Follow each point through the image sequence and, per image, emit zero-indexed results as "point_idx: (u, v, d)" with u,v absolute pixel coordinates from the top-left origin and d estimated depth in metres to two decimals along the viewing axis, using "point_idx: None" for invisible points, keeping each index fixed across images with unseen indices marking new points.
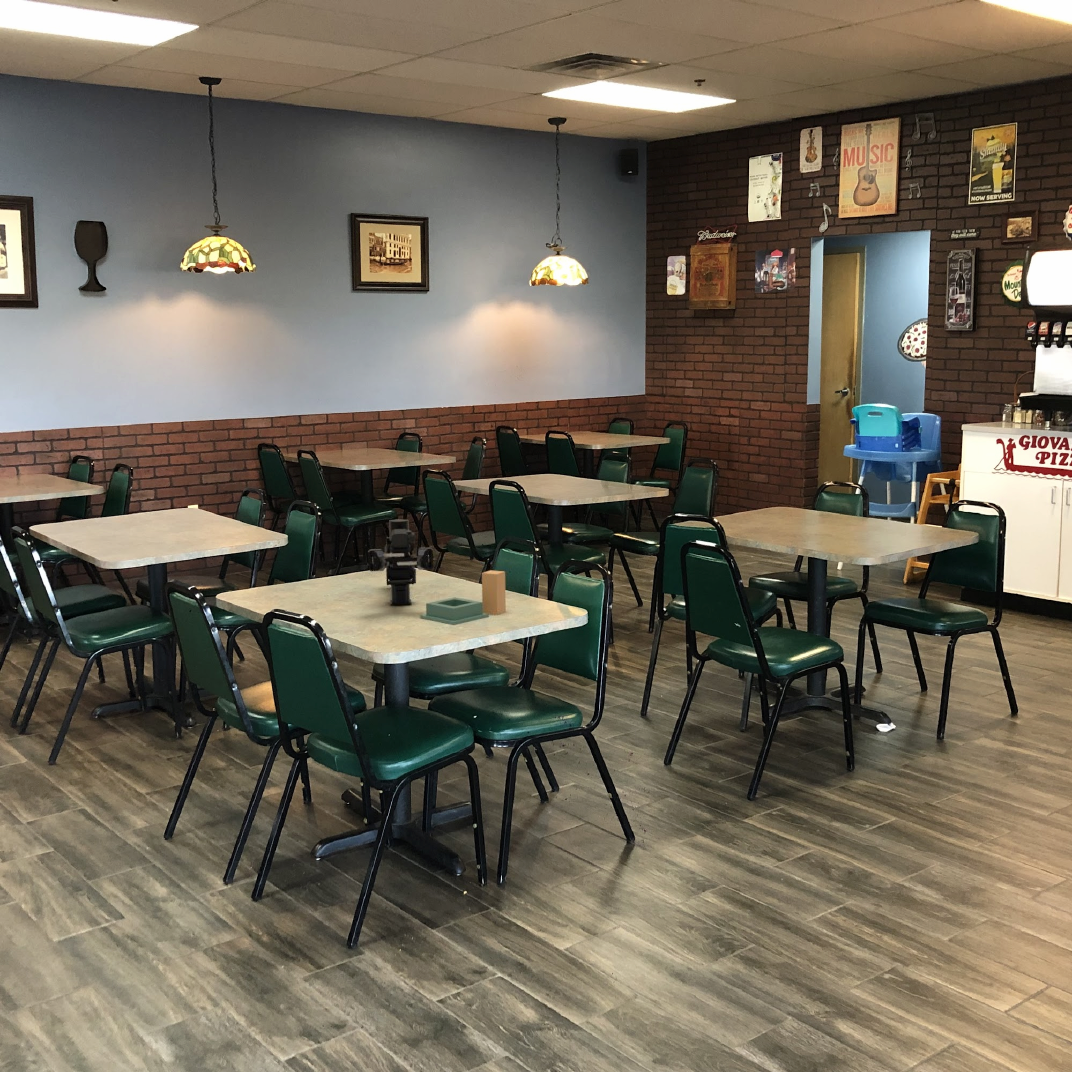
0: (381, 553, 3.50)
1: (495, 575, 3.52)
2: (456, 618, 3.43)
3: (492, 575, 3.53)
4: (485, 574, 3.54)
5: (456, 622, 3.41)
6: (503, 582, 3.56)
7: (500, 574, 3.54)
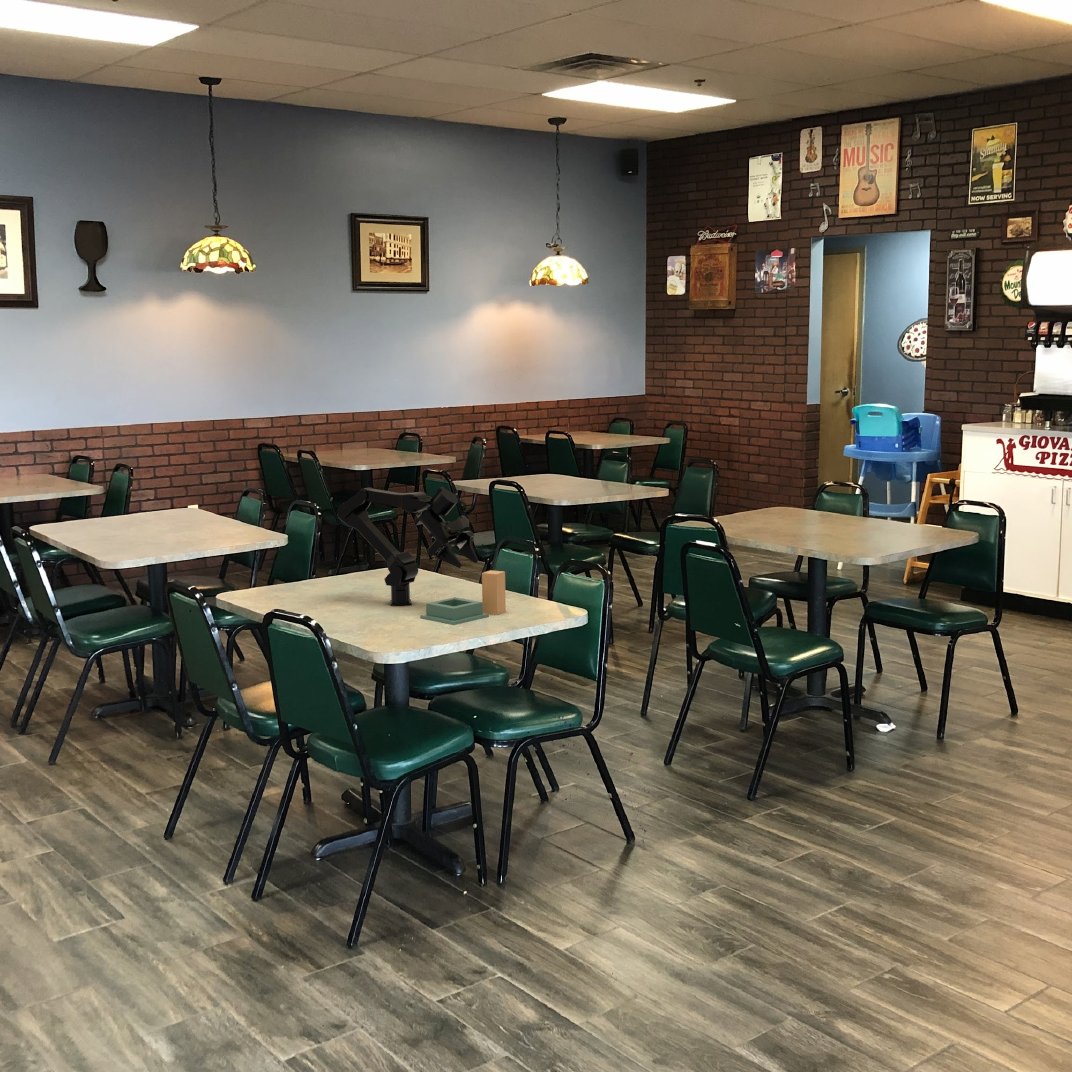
0: (450, 547, 3.54)
1: (495, 575, 3.52)
2: (456, 618, 3.43)
3: (492, 575, 3.53)
4: (485, 574, 3.54)
5: (456, 622, 3.41)
6: (503, 582, 3.56)
7: (500, 574, 3.54)
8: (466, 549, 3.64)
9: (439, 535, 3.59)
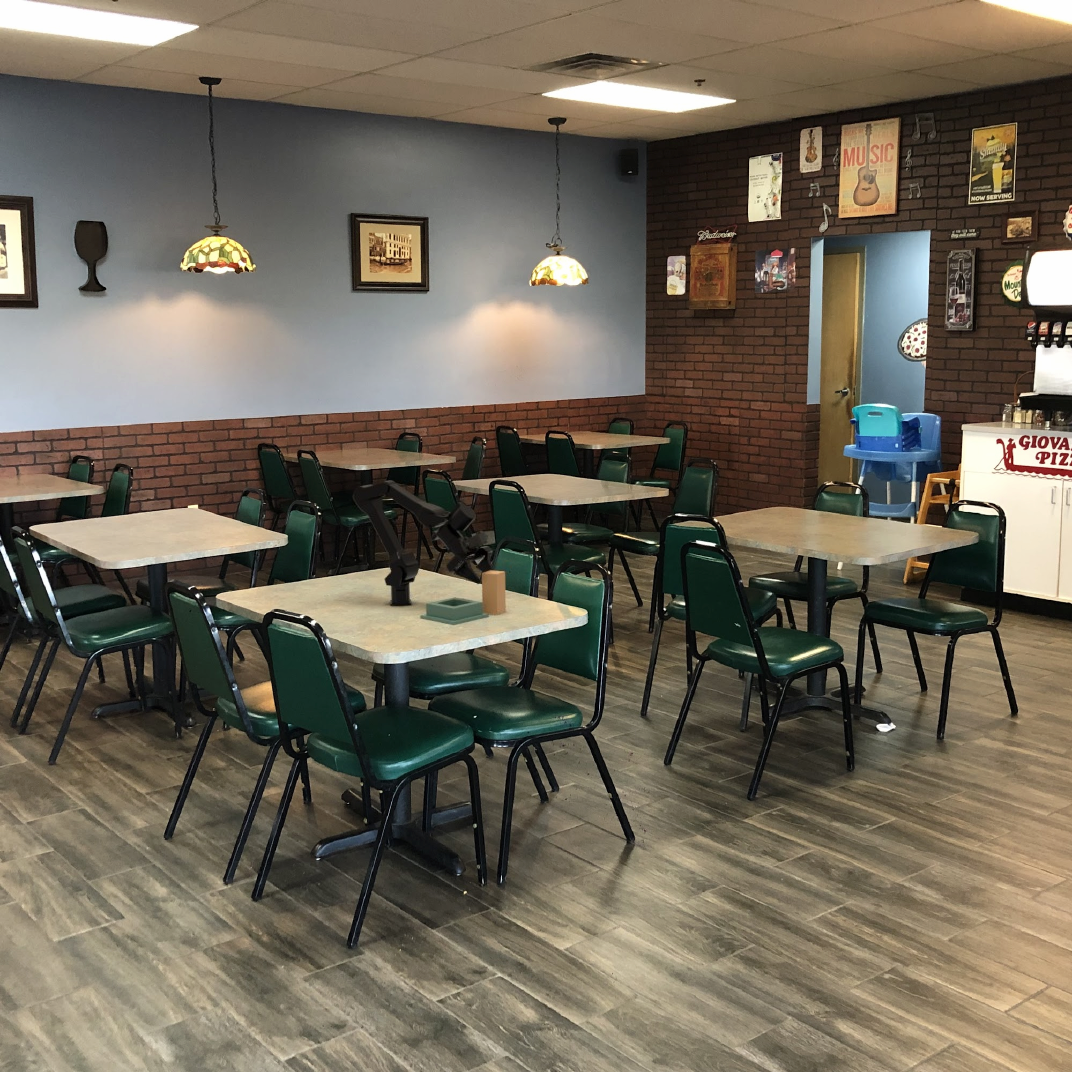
0: (469, 562, 3.52)
1: (495, 575, 3.52)
2: (456, 618, 3.43)
3: (492, 575, 3.53)
4: (485, 574, 3.54)
5: (456, 622, 3.41)
6: (503, 582, 3.56)
7: (500, 574, 3.54)
8: (484, 564, 3.62)
9: (458, 551, 3.57)
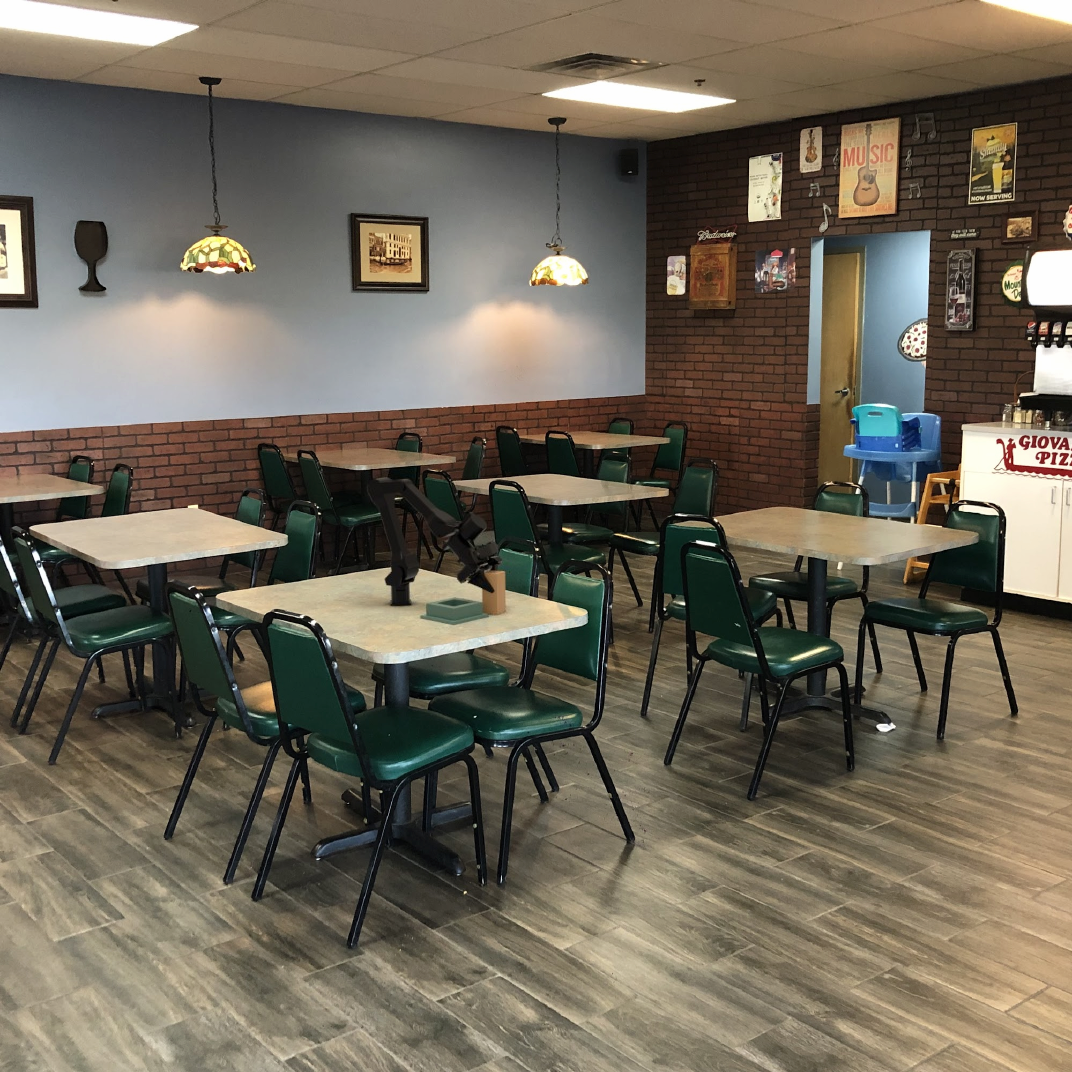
0: (483, 572, 3.53)
1: (495, 575, 3.52)
2: (456, 618, 3.43)
3: (492, 575, 3.53)
4: (485, 574, 3.54)
5: (456, 622, 3.41)
6: (503, 582, 3.56)
7: (500, 574, 3.54)
8: None
9: (468, 561, 3.55)
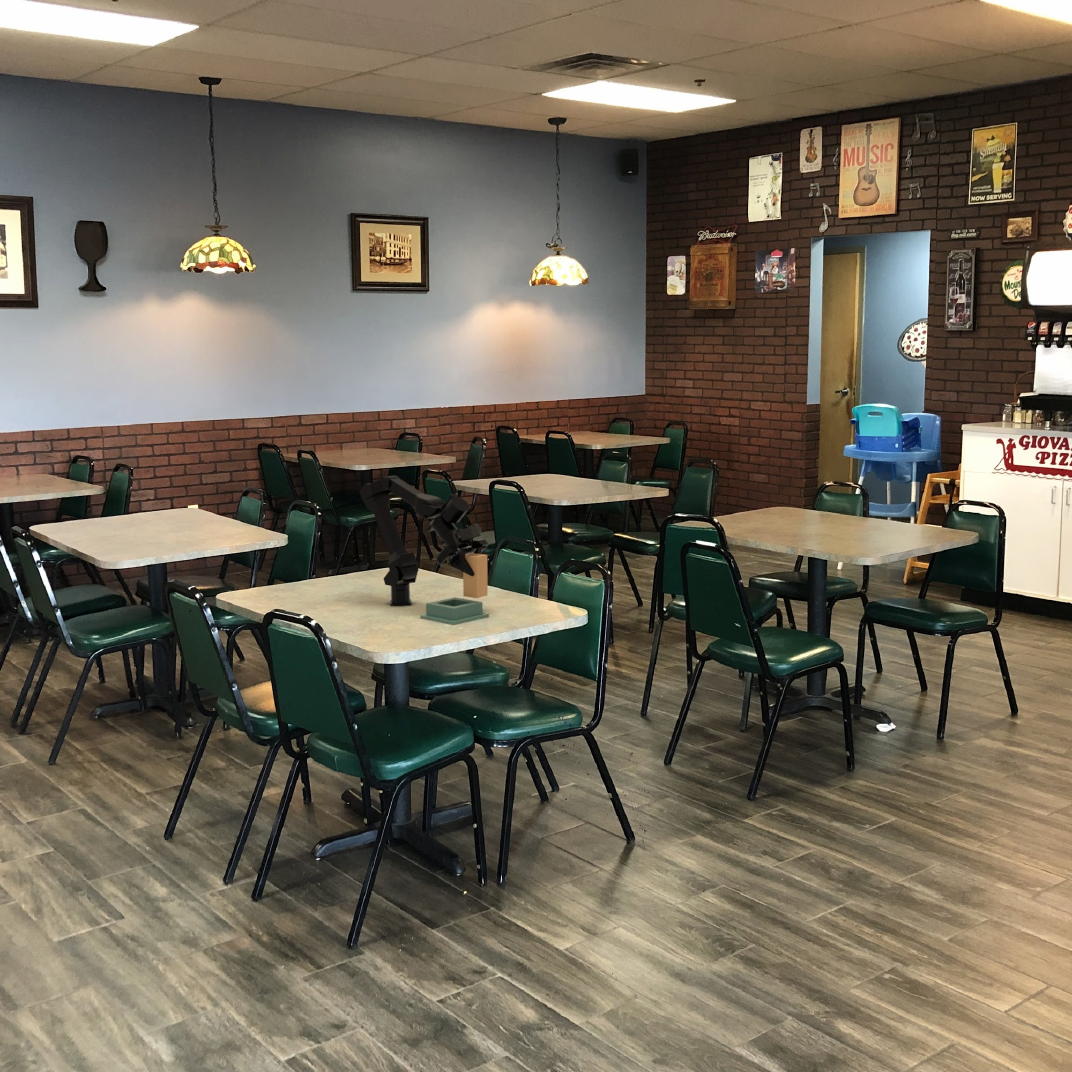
0: (464, 554, 3.48)
1: (475, 558, 3.48)
2: (456, 618, 3.43)
3: (473, 558, 3.48)
4: (466, 557, 3.50)
5: (456, 622, 3.41)
6: (485, 566, 3.51)
7: (481, 557, 3.49)
8: None
9: (450, 543, 3.52)
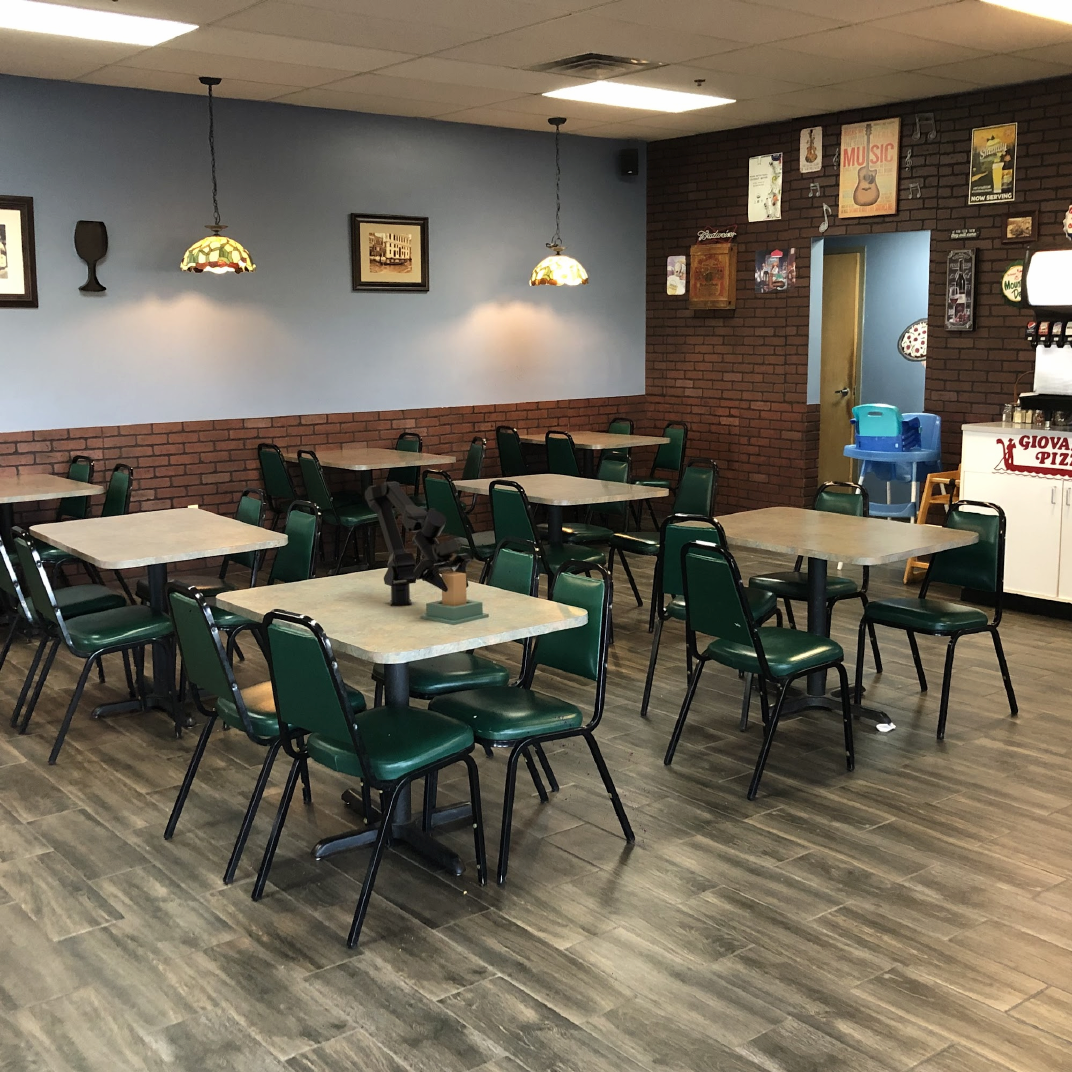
0: (437, 570, 3.46)
1: (452, 577, 3.46)
2: (456, 618, 3.43)
3: (450, 577, 3.46)
4: (444, 575, 3.48)
5: (456, 622, 3.41)
6: (463, 585, 3.49)
7: (459, 576, 3.47)
8: (459, 572, 3.54)
9: (430, 557, 3.50)
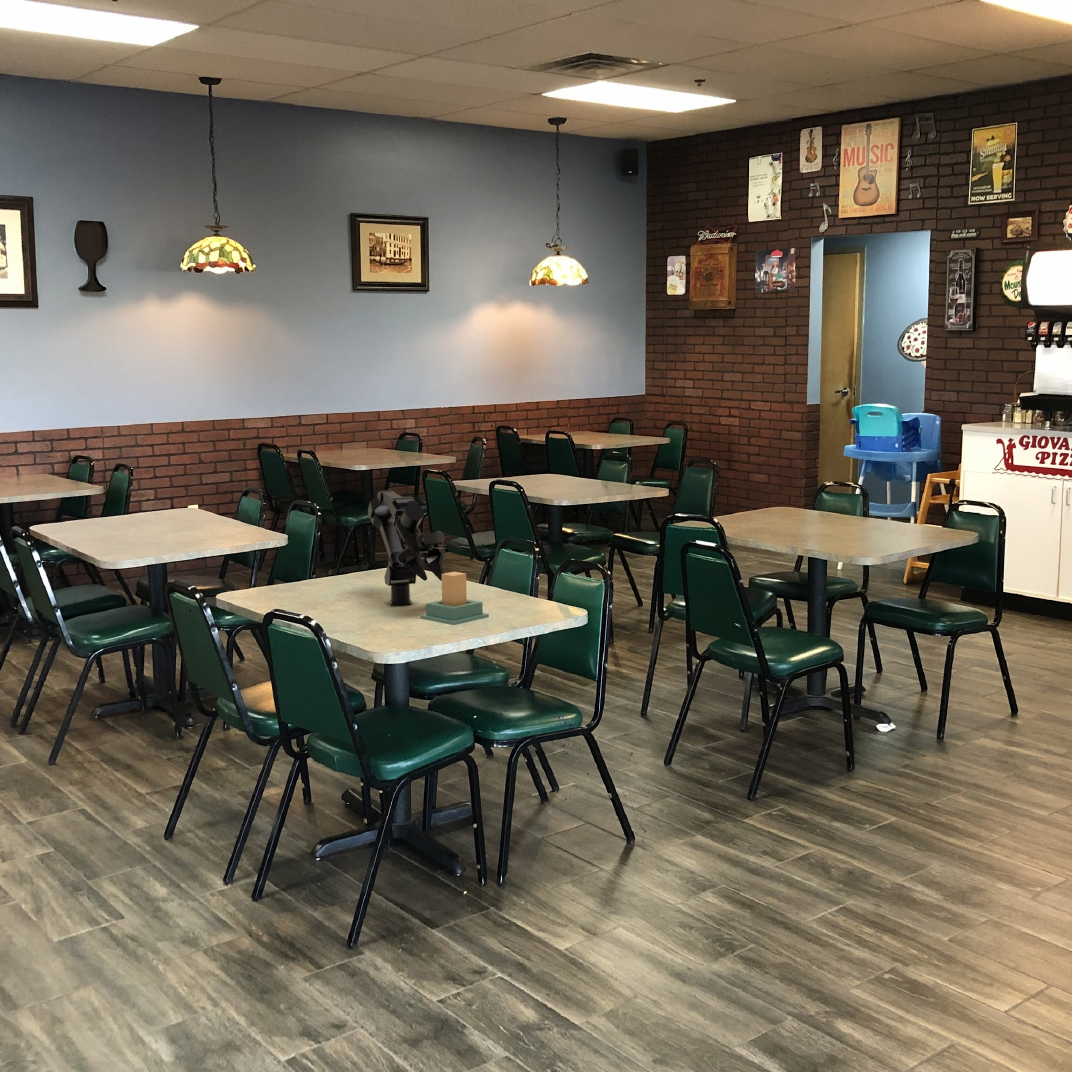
0: (420, 558, 3.51)
1: (452, 577, 3.46)
2: (456, 618, 3.43)
3: (450, 577, 3.46)
4: (444, 575, 3.48)
5: (456, 622, 3.41)
6: (463, 585, 3.49)
7: (459, 576, 3.47)
8: (435, 565, 3.61)
9: (412, 545, 3.56)
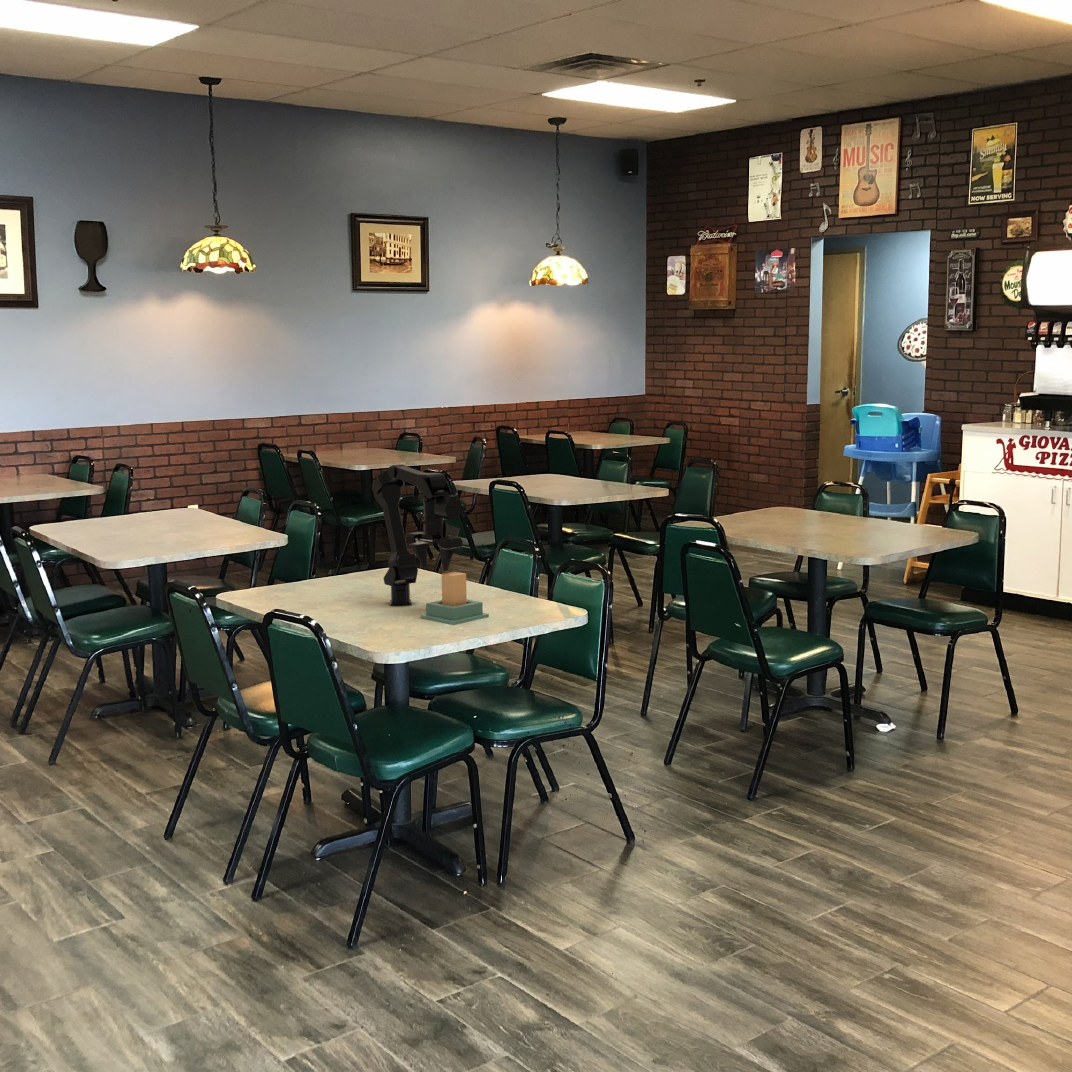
0: None
1: (452, 577, 3.46)
2: (456, 618, 3.43)
3: (450, 577, 3.46)
4: (444, 575, 3.48)
5: (456, 622, 3.41)
6: (463, 585, 3.49)
7: (459, 576, 3.47)
8: (423, 550, 3.58)
9: (441, 529, 3.53)
